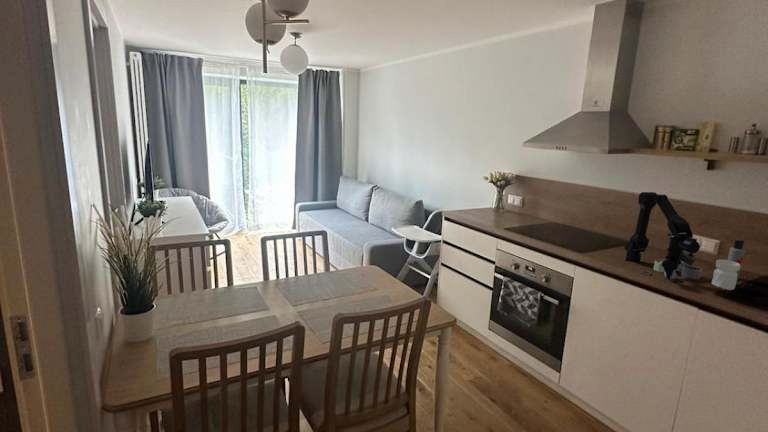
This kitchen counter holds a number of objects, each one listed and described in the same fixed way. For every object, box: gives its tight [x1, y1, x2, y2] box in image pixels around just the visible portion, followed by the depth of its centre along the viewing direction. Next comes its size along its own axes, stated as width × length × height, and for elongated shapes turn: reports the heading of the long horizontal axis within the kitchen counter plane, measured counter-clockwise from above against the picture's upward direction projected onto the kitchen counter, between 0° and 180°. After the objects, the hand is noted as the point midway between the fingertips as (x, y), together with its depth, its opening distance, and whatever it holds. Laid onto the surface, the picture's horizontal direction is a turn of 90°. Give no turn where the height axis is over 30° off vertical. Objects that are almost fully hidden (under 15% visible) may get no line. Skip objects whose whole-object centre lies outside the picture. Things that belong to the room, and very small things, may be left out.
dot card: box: [675, 261, 688, 273], centre depth 212 cm, size 8×1×7 cm, turn 47°
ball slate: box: [663, 270, 677, 279], centre depth 201 cm, size 5×5×5 cm
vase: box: [711, 259, 740, 291], centre depth 194 cm, size 9×9×12 cm
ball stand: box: [640, 270, 676, 282], centre depth 205 cm, size 16×6×1 cm, turn 47°
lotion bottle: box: [727, 238, 746, 280], centre depth 204 cm, size 6×6×20 cm
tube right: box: [680, 265, 703, 280], centre depth 205 cm, size 8×8×5 cm
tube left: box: [653, 259, 665, 274], centre depth 213 cm, size 8×8×5 cm
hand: (669, 277), depth 201 cm, fingers open, 6 cm apart
